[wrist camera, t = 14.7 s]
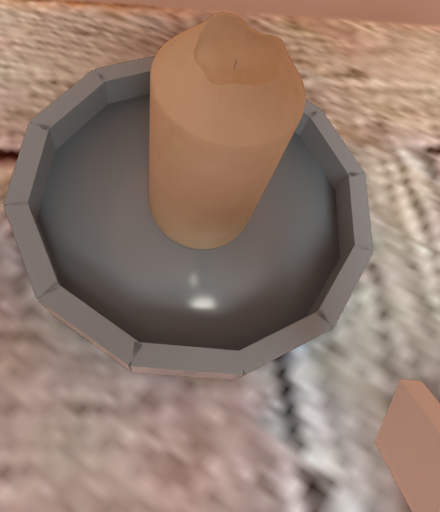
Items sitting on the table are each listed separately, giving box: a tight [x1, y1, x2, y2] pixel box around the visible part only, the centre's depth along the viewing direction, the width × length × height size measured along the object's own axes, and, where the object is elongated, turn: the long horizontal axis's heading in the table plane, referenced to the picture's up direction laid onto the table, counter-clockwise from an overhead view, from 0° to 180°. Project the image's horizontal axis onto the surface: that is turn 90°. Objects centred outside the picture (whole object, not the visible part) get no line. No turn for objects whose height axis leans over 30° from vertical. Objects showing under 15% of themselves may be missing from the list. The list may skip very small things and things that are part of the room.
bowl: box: [3, 56, 373, 380], centre depth 21 cm, size 18×18×2 cm
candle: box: [149, 12, 306, 250], centre depth 17 cm, size 6×6×10 cm
